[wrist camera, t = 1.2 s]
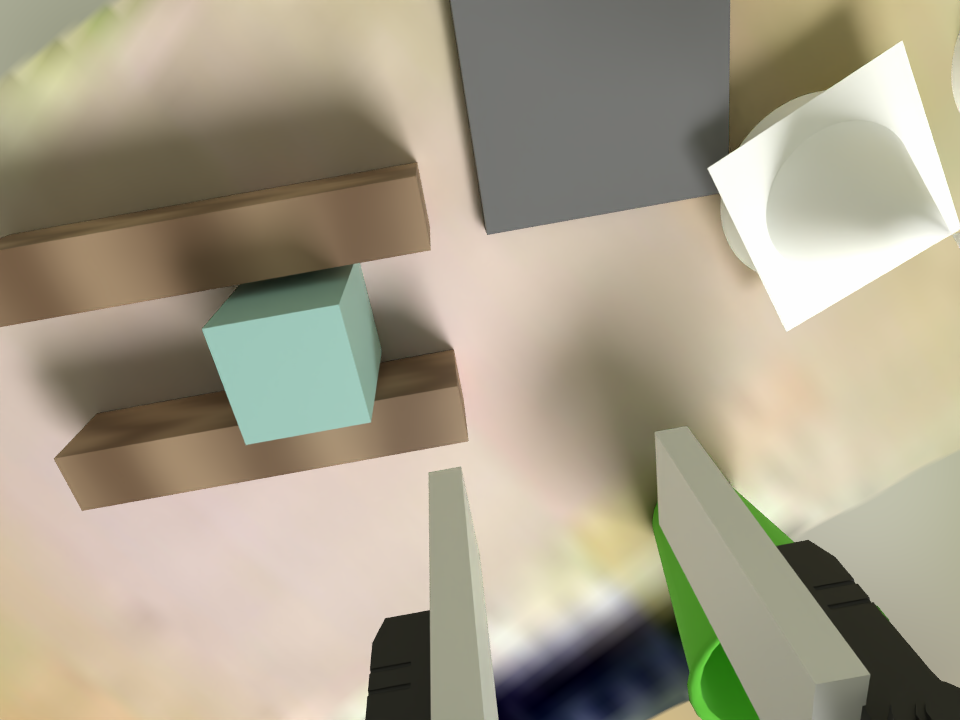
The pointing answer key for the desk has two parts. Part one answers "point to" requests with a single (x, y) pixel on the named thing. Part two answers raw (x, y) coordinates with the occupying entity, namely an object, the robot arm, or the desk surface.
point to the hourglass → (837, 188)
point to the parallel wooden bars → (215, 264)
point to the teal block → (297, 353)
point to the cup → (707, 636)
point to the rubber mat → (592, 104)
